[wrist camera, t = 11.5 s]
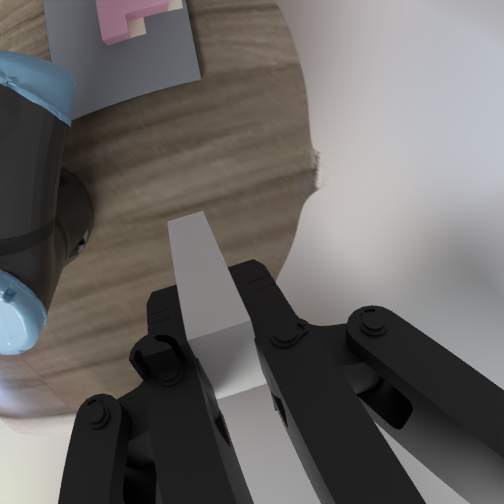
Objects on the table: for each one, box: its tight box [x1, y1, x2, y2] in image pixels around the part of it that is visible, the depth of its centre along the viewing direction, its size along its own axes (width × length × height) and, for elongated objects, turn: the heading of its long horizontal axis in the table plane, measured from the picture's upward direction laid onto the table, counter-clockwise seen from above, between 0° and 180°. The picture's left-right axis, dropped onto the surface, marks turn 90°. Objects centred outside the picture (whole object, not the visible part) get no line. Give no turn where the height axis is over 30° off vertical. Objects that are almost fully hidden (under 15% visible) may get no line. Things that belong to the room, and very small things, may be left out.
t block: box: [96, 0, 169, 46], centre depth 24 cm, size 8×8×4 cm
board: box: [43, 0, 201, 121], centre depth 26 cm, size 18×24×1 cm
